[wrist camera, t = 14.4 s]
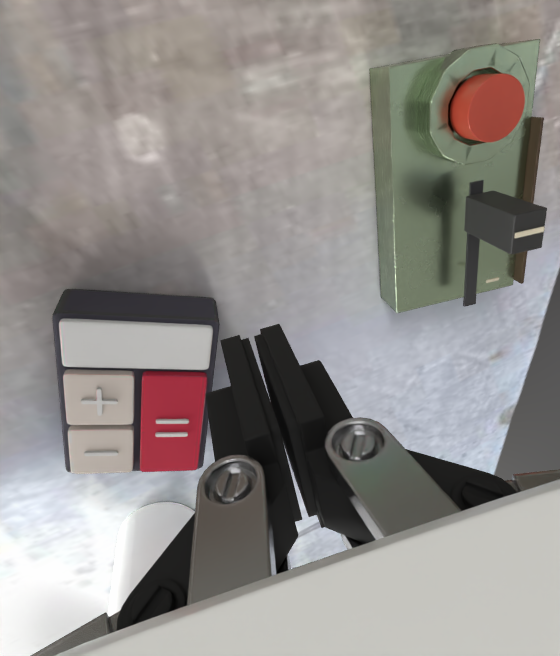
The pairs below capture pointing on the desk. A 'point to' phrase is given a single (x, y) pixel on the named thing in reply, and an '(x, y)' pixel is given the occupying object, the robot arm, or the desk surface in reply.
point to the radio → (441, 172)
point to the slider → (505, 221)
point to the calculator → (134, 379)
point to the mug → (143, 545)
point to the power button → (487, 107)
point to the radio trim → (528, 196)
